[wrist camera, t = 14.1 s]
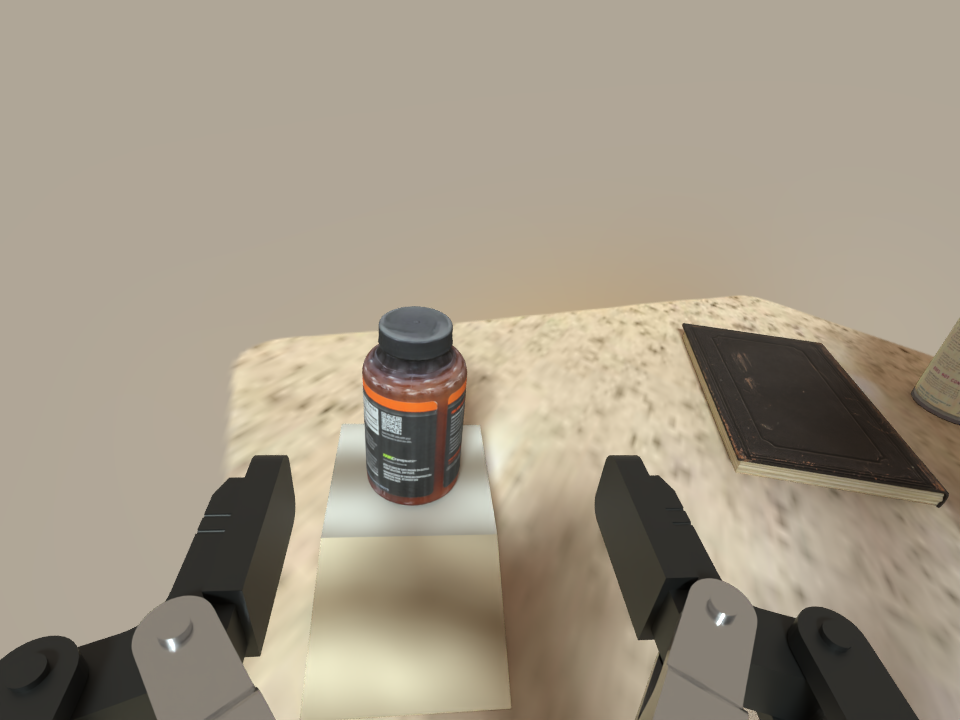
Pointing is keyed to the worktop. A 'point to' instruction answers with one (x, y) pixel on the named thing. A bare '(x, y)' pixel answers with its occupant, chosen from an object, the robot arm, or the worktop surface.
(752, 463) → the hardcover book
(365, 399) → the supplement bottle
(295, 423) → the worktop surface
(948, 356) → the aerosol can
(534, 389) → the worktop surface
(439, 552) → the ramp bench
